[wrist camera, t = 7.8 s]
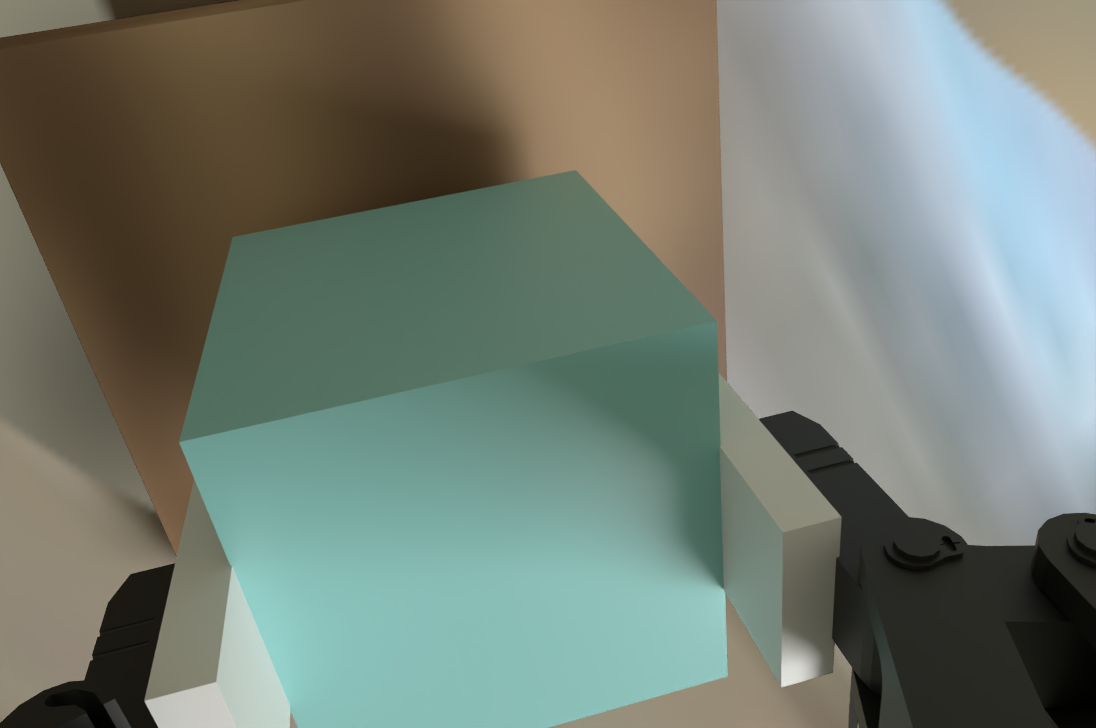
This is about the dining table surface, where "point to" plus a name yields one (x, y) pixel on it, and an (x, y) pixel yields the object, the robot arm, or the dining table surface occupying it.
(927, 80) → the dining table surface
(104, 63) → the stand
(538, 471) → the mint green cube
